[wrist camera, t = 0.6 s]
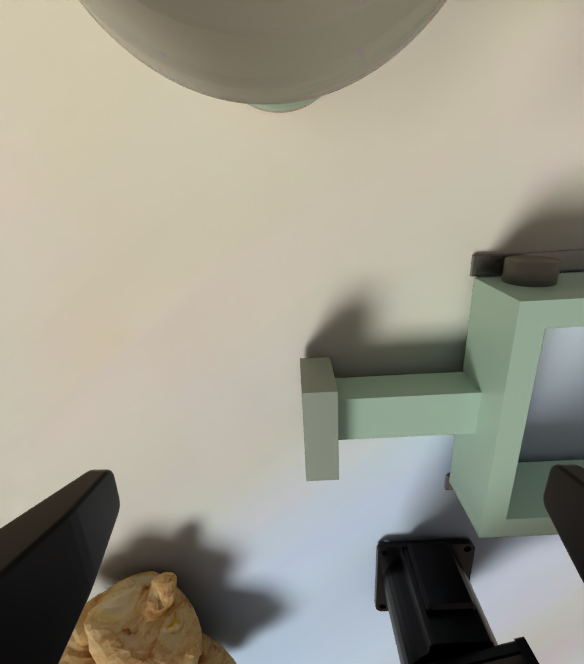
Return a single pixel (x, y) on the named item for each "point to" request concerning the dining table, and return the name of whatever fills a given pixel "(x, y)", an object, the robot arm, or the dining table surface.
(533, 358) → the cart
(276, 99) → the coffee cup
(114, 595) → the ginger root
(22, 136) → the dining table surface
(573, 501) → the robot arm
